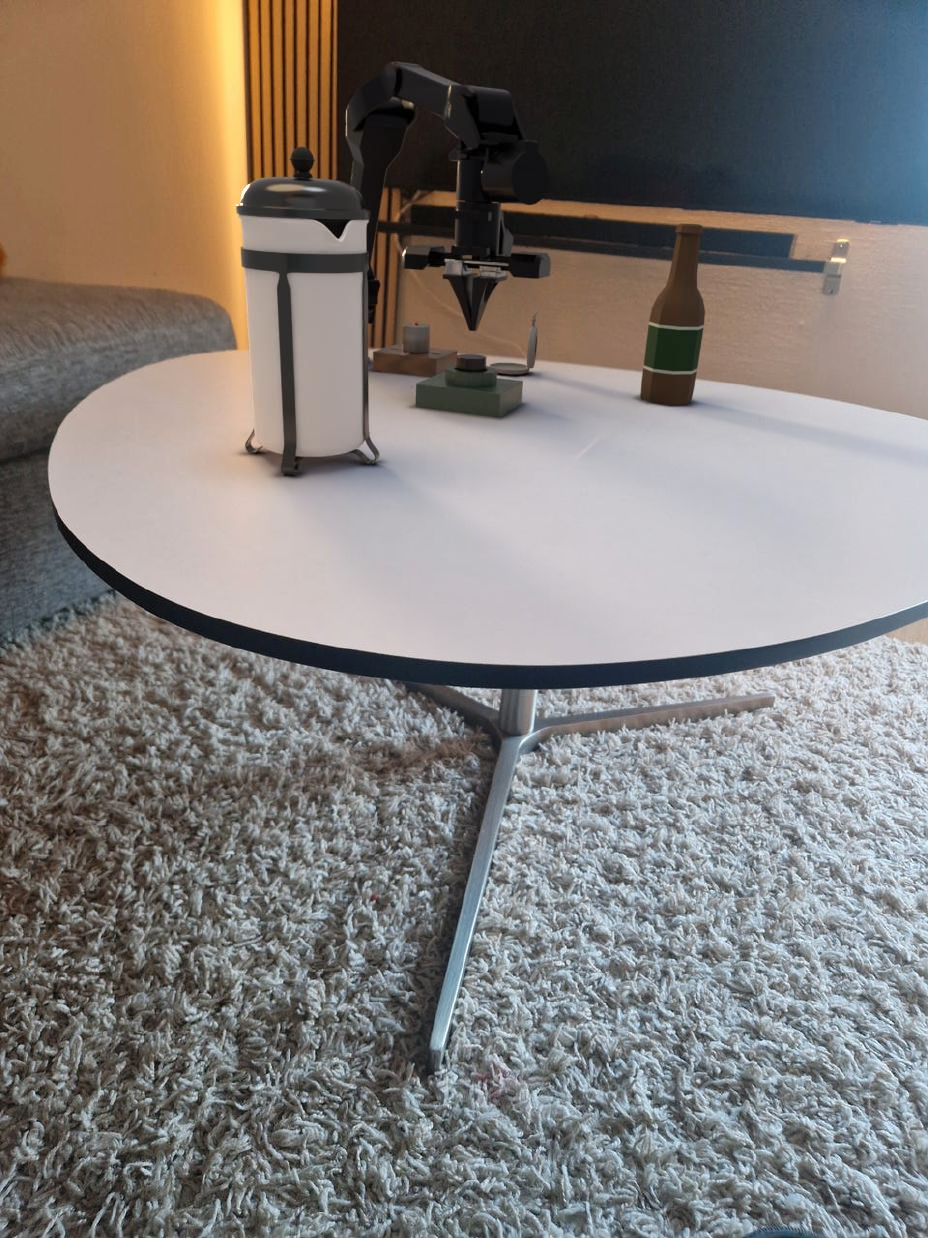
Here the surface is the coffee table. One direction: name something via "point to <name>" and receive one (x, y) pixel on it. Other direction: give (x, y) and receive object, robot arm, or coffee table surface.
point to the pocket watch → (531, 355)
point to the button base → (469, 392)
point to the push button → (471, 363)
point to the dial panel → (413, 361)
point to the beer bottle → (675, 327)
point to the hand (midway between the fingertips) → (473, 330)
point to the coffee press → (307, 314)
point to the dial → (416, 338)
